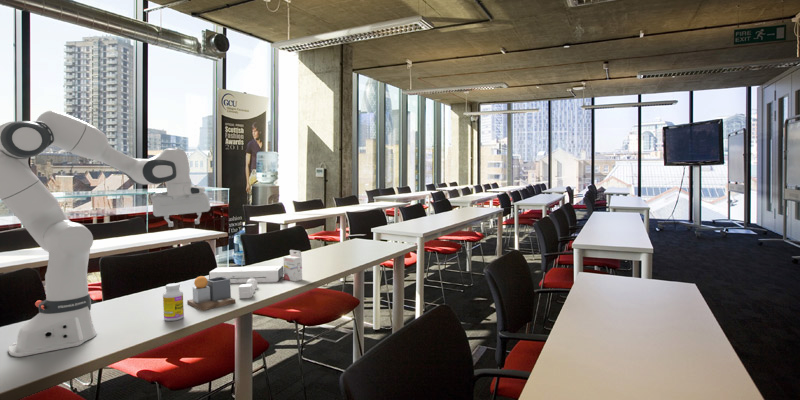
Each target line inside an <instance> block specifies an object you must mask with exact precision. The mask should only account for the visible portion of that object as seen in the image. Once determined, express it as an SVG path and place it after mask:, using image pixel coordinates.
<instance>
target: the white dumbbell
mask: <svg viewBox="0 0 800 400" xmlns="http://www.w3.org/2000/svg"><path fill="white" fill-rule="evenodd" d="M257 289H259V287H258V282H257V281H256V280H255V279H253V278H250V279H249V280H248V281H247V283H240V285H239V286H238V298H239V299H251V298H252V297H253V295H254V294H255V292H256V290H257Z"/></svg>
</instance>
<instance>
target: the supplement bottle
mask: <svg viewBox="0 0 800 400" xmlns="http://www.w3.org/2000/svg"><path fill="white" fill-rule="evenodd" d="M180 285H181V284H180V283H177V282H176V283H175V282H173V283H168V284H166V285H165V290H166V291H165V292H164V293H163V294H162V300H163V301H162V302H163V303H162V304H163V320H165V321H168V322H175V321H179V320H182V319H183V318H184V316H185V313H184V312H185V309H184V293H183V291H182V290H180V288H181V287H180Z"/></svg>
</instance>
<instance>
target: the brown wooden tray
mask: <svg viewBox="0 0 800 400" xmlns="http://www.w3.org/2000/svg"><path fill="white" fill-rule="evenodd" d="M186 303H187V305H189V306H191V307H193V308H195V309H198V310H199V311H201V312H202V311H206V310H211V309H214V308H219V307H224V306H227V305H233V304H236V298H234V297H231V298H227V299H223V300H218V301H214V302H213V301H210V302H205V303H201V304H197V303H195V302H193V298H192V299H187V302H186Z"/></svg>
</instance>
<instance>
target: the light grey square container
mask: <svg viewBox="0 0 800 400" xmlns="http://www.w3.org/2000/svg"><path fill="white" fill-rule="evenodd" d="M192 299H193V302H195V303H197V304H201V303H205V302H210V301H211V300H210V287H209V286H206V287H204V288H197V287H196V286H193V287H192Z"/></svg>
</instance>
